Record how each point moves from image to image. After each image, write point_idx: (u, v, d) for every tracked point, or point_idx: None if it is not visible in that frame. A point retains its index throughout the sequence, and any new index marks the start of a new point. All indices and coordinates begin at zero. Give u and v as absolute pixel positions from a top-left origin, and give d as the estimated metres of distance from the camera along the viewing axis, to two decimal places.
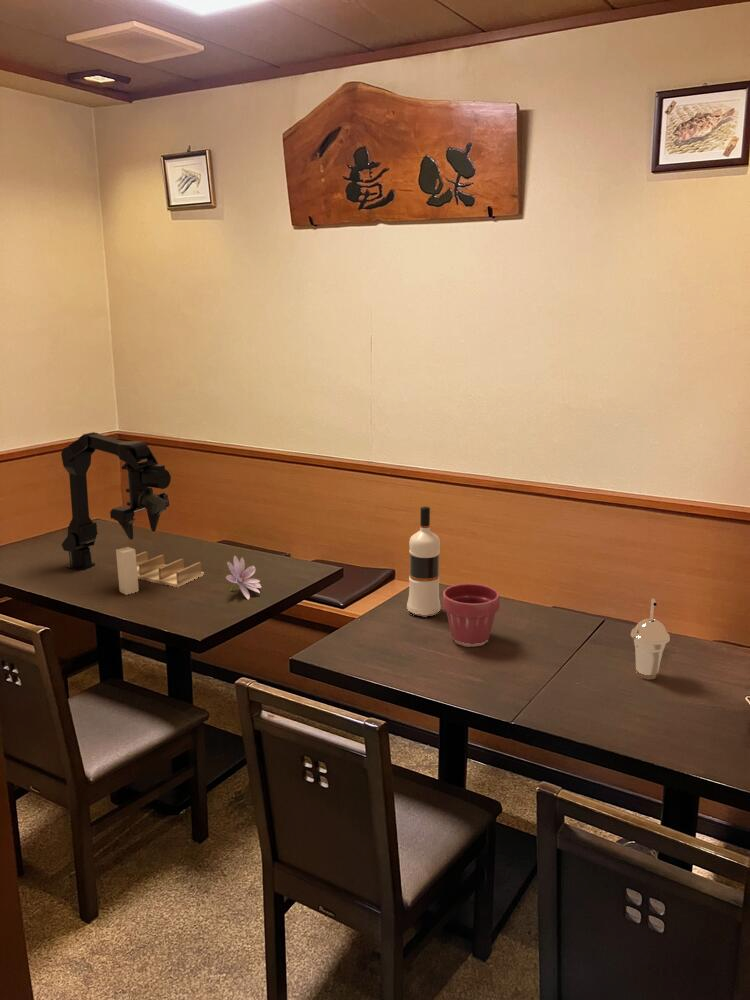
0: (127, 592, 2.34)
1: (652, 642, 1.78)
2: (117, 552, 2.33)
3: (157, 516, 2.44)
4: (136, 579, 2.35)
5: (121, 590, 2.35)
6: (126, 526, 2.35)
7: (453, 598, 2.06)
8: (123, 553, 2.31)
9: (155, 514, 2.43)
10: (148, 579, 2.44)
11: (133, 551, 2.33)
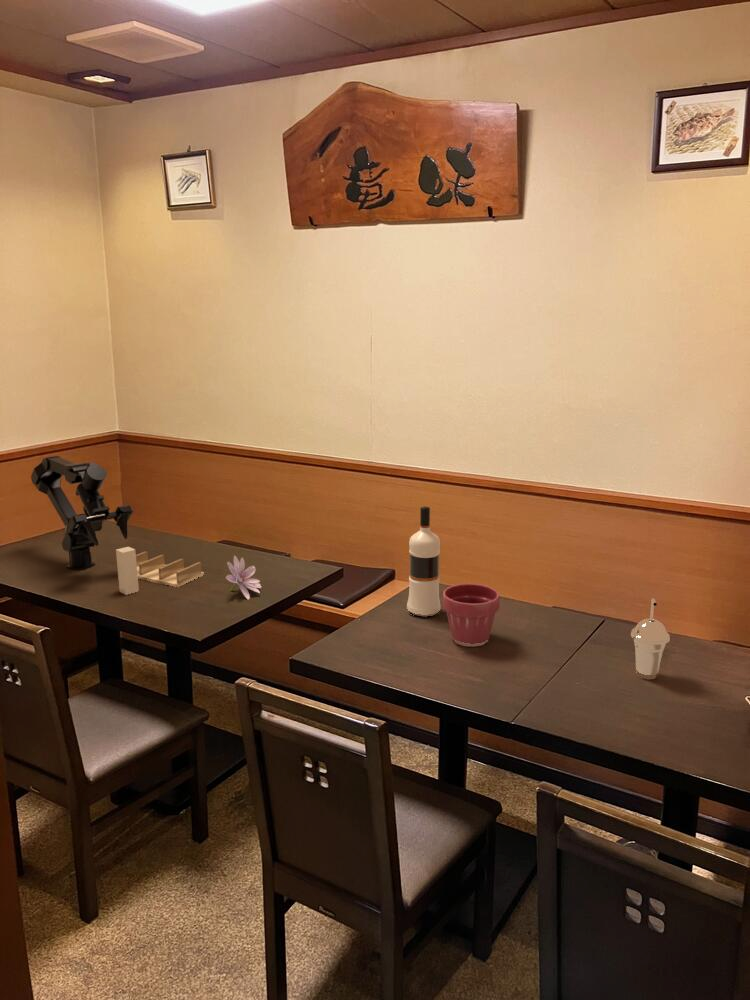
0: (127, 592, 2.34)
1: (652, 642, 1.78)
2: (117, 552, 2.33)
3: None
4: (136, 579, 2.35)
5: (121, 590, 2.35)
6: None
7: (453, 598, 2.06)
8: (123, 553, 2.31)
9: None
10: (148, 579, 2.44)
11: (133, 551, 2.33)
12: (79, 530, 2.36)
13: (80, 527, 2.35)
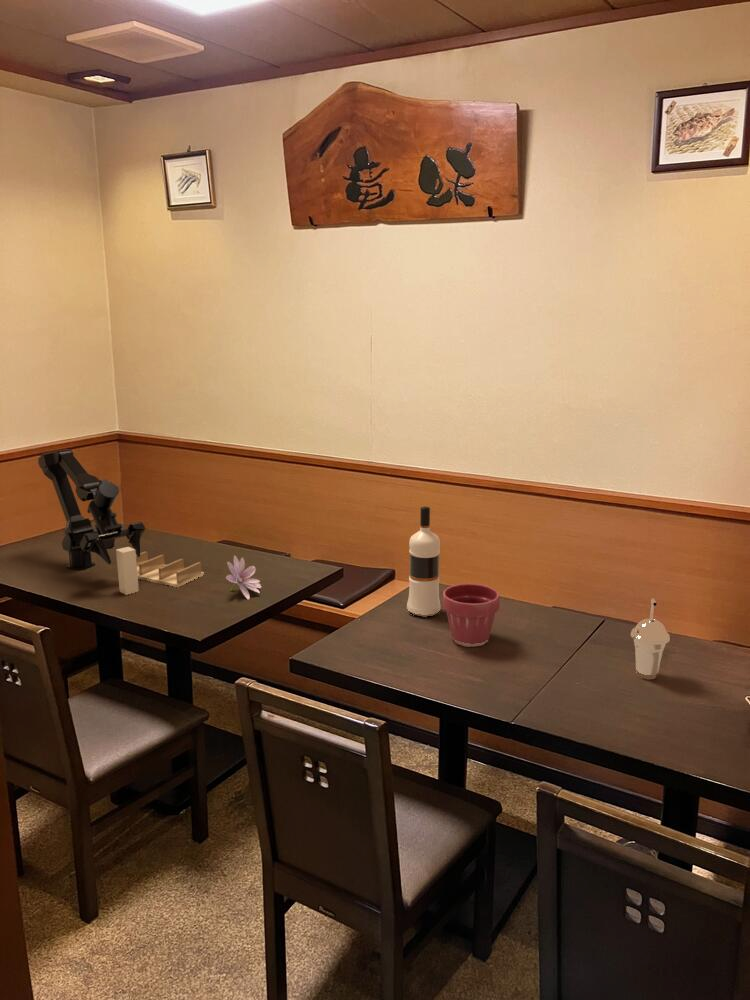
0: (127, 592, 2.34)
1: (652, 642, 1.78)
2: (117, 552, 2.33)
3: None
4: (136, 579, 2.35)
5: (121, 590, 2.35)
6: None
7: (453, 598, 2.06)
8: (123, 553, 2.31)
9: None
10: (148, 579, 2.44)
11: (133, 551, 2.33)
12: (91, 549, 2.32)
13: (92, 546, 2.31)
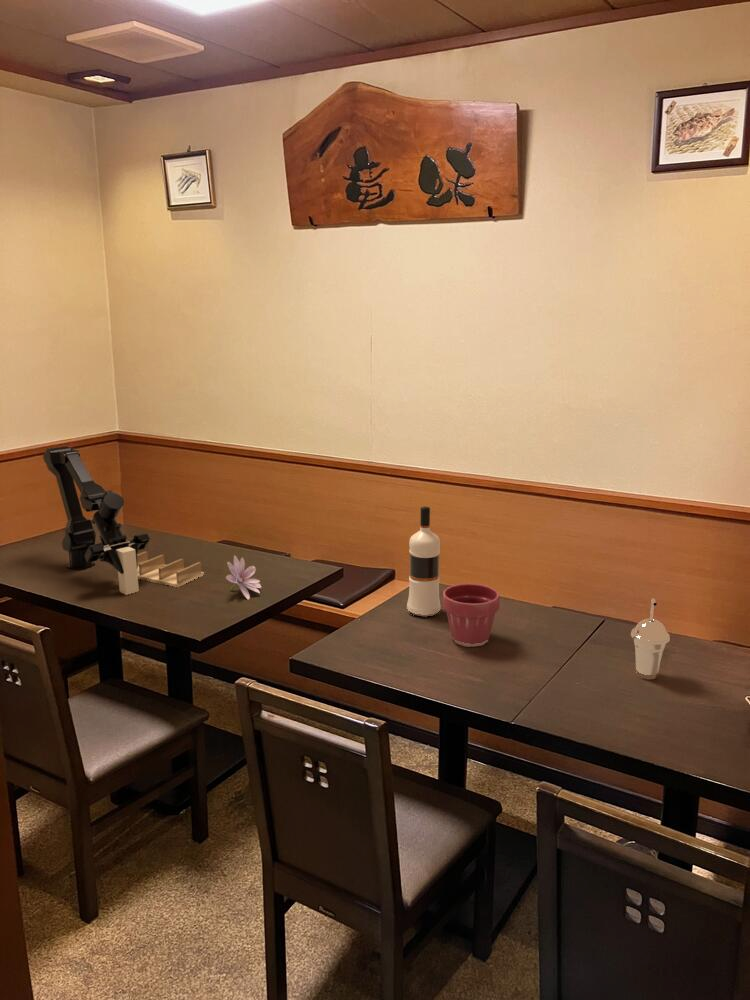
0: (127, 592, 2.34)
1: (652, 642, 1.78)
2: (117, 552, 2.33)
3: None
4: (136, 579, 2.35)
5: (121, 590, 2.35)
6: None
7: (453, 598, 2.06)
8: (123, 553, 2.31)
9: None
10: (148, 579, 2.44)
11: (133, 551, 2.33)
12: (104, 558, 2.33)
13: (105, 556, 2.32)
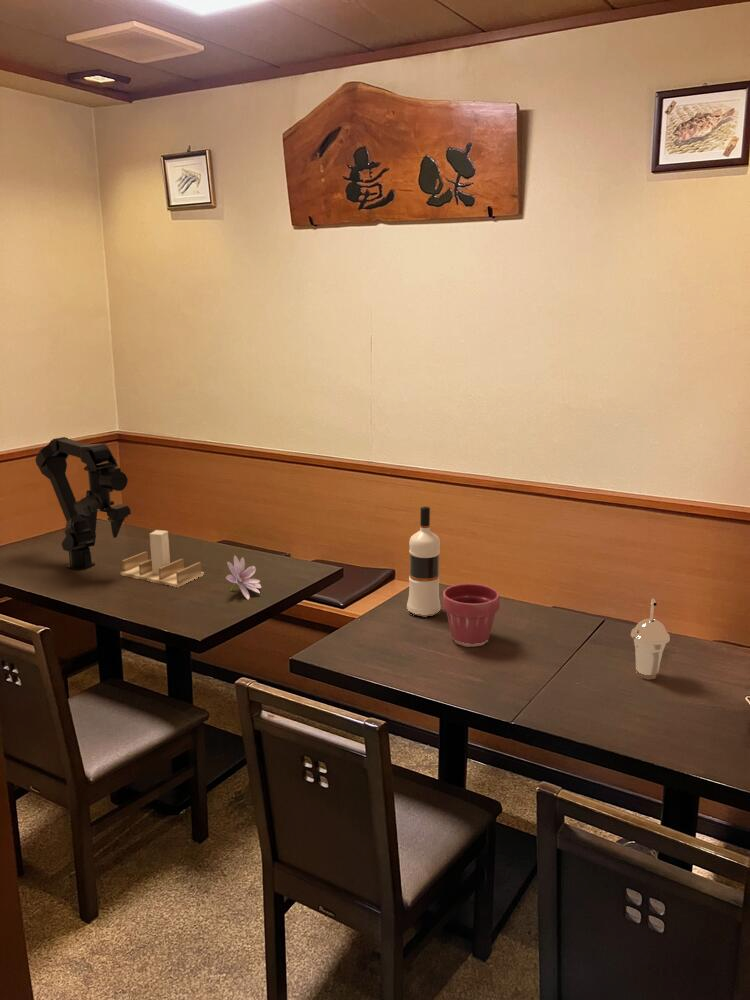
0: None
1: (652, 642, 1.78)
2: (152, 536, 2.44)
3: (112, 524, 2.41)
4: (169, 559, 2.49)
5: (156, 572, 2.47)
6: None
7: (453, 598, 2.06)
8: (161, 535, 2.44)
9: None
10: (148, 579, 2.44)
11: (167, 532, 2.47)
12: None
13: None
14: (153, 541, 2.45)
